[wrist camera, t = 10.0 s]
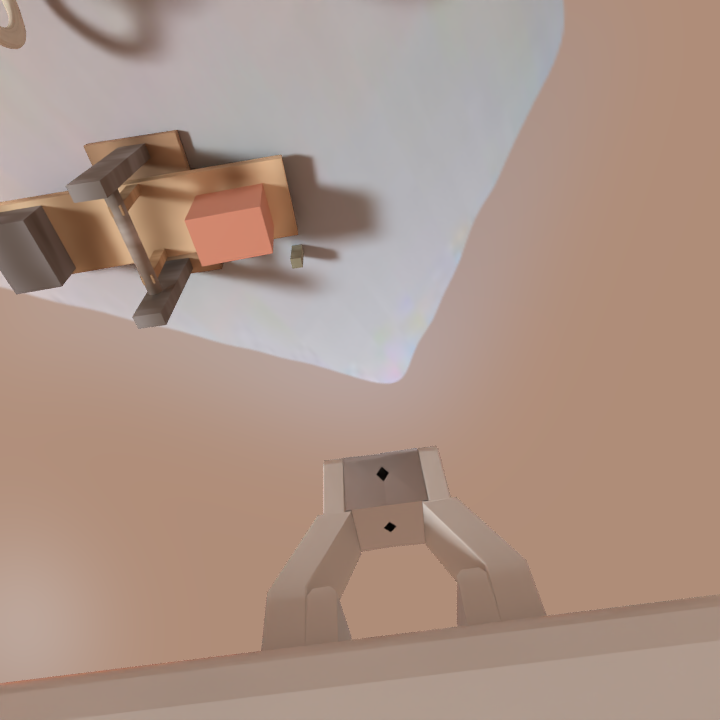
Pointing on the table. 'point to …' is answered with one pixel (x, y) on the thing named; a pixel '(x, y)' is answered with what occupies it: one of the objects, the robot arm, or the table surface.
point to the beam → (125, 224)
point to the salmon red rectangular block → (231, 225)
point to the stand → (136, 162)
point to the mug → (13, 27)
